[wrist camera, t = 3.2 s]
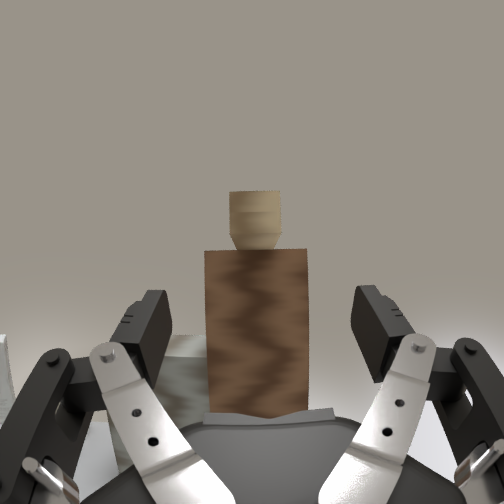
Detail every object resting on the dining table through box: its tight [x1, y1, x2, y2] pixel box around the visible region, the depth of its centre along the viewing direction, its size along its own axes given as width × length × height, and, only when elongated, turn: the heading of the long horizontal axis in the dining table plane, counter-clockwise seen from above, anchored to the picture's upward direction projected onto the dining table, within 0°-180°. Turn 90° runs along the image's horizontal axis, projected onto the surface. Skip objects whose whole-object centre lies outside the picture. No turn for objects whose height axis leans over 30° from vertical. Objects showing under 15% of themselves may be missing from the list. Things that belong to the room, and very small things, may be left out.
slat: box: [229, 191, 281, 250], centre depth 33 cm, size 4×24×3 cm, turn 0°
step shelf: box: [107, 249, 309, 474], centre depth 35 cm, size 22×14×31 cm, turn 90°
